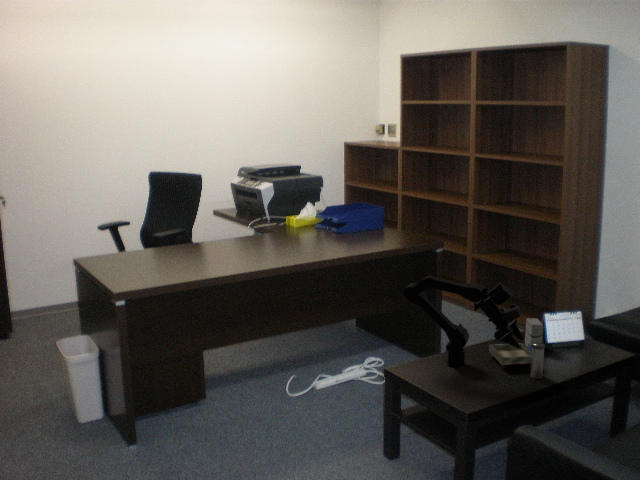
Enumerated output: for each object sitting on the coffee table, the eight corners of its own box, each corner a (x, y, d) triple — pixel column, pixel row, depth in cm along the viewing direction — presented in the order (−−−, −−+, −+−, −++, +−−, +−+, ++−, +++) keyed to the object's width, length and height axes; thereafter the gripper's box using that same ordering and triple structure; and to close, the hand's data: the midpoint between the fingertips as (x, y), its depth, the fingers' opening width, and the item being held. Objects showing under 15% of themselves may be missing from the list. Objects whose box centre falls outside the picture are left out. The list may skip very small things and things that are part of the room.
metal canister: (532, 379, 247) (535, 346, 245) (527, 374, 252) (529, 342, 249) (544, 378, 248) (546, 346, 245) (539, 373, 252) (541, 341, 250)
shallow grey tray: (501, 370, 256) (502, 357, 254) (488, 356, 269) (489, 344, 268) (535, 368, 257) (536, 356, 256) (521, 354, 271) (522, 343, 269)
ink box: (542, 351, 274) (543, 324, 271) (530, 351, 274) (531, 324, 272) (535, 343, 282) (537, 317, 280) (524, 343, 282) (525, 317, 280)
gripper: (504, 306, 240) (534, 339, 238) (512, 292, 257) (540, 323, 254) (482, 324, 245) (510, 356, 243) (491, 309, 262) (518, 339, 259)
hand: (521, 343), depth 250 cm, fingers open, 9 cm apart
